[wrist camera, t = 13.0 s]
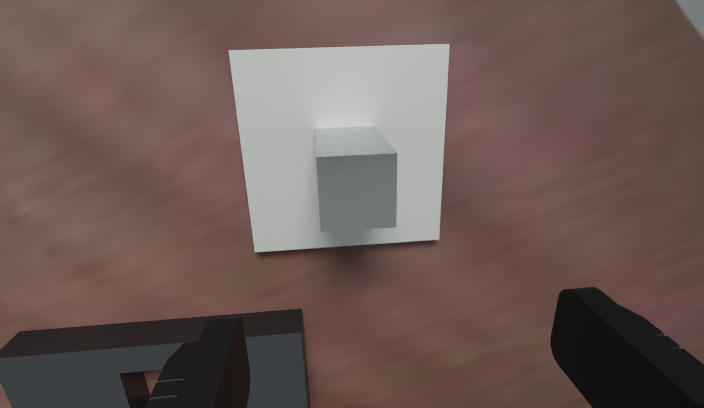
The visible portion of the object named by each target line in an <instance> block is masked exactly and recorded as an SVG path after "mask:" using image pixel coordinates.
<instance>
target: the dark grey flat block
mask: <svg viewBox="0 0 704 408" xmlns="http://www.w3.org/2000/svg"><path fill="white" fill-rule="evenodd" d="M231 316H241V318H242V321H243V326H244V333H245V339H246V346H247V353H248V359H249V366H250V391H249V398H248V404H247V408H310V398H309V386H308V375H307V363H306V352H305V341H304V329H303V318H302V309H294V310H281V311H269V312H257V313H244V314H232V315H220V316H207V317H195V318H182V319H170V320H158V321H145V322H133V323H121V324H108V325H96V326H83V327H71V328H59V329H46V330H34V331H22V332H19V333H17V334H16V335H15V336H14V337H13V338H12V339H11V340H10V341H9V342H8V343H7V344H6V345H5V346H4V347H3V348H2V349H1V350H0V382H1V384H2V386H3V389H4V391H5V393H6V395H7V398H8V400H9V402H10V404H11V407H12V408H145V406H146V404H147V402H148V401H149V400H150V395H149V392H148V388H147V385H146V381H145V377H144V374H143V371H151V370H162V369H163V367H164V365H165V363H166V361H167V359H168V358H169V357H170V356H171V355H172V354H173V353H174V352H175V351H176V350H177V349H178V348H179V347H180V346H181V345H182V344H183V343H187V342H198V341H199V338H200V336H201V333H202V330H203V328H204V325H205V323H206V321H207V319H208V318H219V317H231Z"/></svg>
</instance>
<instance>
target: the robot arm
mask: <svg viewBox="0 0 704 408" xmlns="http://www.w3.org/2000/svg"><path fill="white" fill-rule="evenodd" d="M551 349H552V353H553V356H554V358H555V360H556V362H557V364H558V365H559V366H560V368H561V369H562V370H563V371H564V373H565V374H566V375H567V376H568V378H569V379H570V380H571V381H572V383H573V384H574V385H575V386H576V388H577V389H578V390H579V391H580V393H581V394H582V395H583V396H584V398H585V399H586V400H587V401H588V403H589V404H590V405H591V406H592V408H704V364H702V363H701V362H700V361H699V360H697V359H696V358H695V357H694V356H692V355H691V354H690V353H688V352H687V351H686V350H685V349H680V347H679V345H678V344H677V343H676V342H674V341H673V340H672V339H671V338H669V337H668V336H664V335H663V332H662V331H661V330H659V329H658V328H657V327H655V326H654V325H653V324H652V323H650V322H649V321H648V320H647V319H645V318H644V317H642V316H640V315H638V314H636V313H634V312H632V311H630V310H628V309H626V308H624V307H622V306H620V305H618V304H617V303H616V302H614V301H613V300H612V299H611V298H609V297H608V296H607V295H606V294H604V293H603V292H602V291H601V290H599V289H598V288H595V287H588V288H576V289H565V290H563V291H561V293H560V294H559V297H558V302H557V307H556V312H555V318H554V323H553V328H552V334H551ZM249 391H250V366H249V359H248V353H247V346H246V339H245V333H244V326H243V321H242V318H241V316H231V317H219V318H208V319H207V321H206V323H205V325H204V328H203V330H202V333H201V336H200V338H199V341H198V342H187V343H183V344H182V345H181V346H180V347H179V348H178V349H177V350H176V351H175V352H174V353H173V354H172V355H171V356H170V357H169V358H168V359H167V361H166V363H165V365H164V367H163V369H162V372H161V374H160V376H159V378H158V383H156V384H155V387H154V389H153V391H152V393H151V395H150V400H149V401H148V402H147V404H146V406H145V408H247V404H248V398H249Z"/></svg>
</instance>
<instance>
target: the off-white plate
mask: <svg viewBox="0 0 704 408" xmlns="http://www.w3.org/2000/svg"><path fill="white" fill-rule="evenodd" d="M449 45H450V44H430V45H396V46H362V47H328V48H294V49H261V50H229V57H230V65H231V73H232V80H233V88H234V96H235V103H236V111H237V119H238V127H239V134H240V142H241V150H242V157H243V165H244V173H245V180H246V188H247V196H248V203H249V211H250V219H251V227H252V234H253V242H254V250H255V252H267V251H281V250H296V249H310V248H324V247H339V246H353V245H368V244H382V243H397V242H411V241H426V240H439V230H440V211H441V193H442V174H443V156H444V137H445V119H446V100H447V82H448V63H449ZM365 126H374V127H375V128H376V129H377V130H378V132H379V133H380V134H381V135H382V136H383V137H384V138H385V140H386V141H387V142H388V143H389V144H390V145H391V146H392V148H393V149H394V150H395V151H396V152H397V215H396V227H394V228H378V229H362V230H347V231H331V232H321V231H320V214H319V198H318V181H317V164H316V143H315V129H319V128H342V127H365Z"/></svg>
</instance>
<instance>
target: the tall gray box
mask: <svg viewBox="0 0 704 408" xmlns="http://www.w3.org/2000/svg"><path fill="white" fill-rule="evenodd" d="M315 143H316V164H317V181H318V198H319V214H320V231H321V232H331V231H347V230H362V229H378V228H394V227H396V215H397V152H396V151H395V150H394V149H393V148H392V146H391V145H390V144H389V143H388V142H387V141H386V140H385V138H384V137H383V136H382V135H381V134H380V133H379V132H378V130H377V129H376V128H375V127H374V126H365V127H342V128H319V129H315Z"/></svg>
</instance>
